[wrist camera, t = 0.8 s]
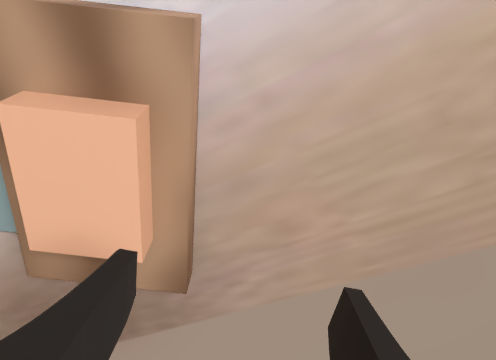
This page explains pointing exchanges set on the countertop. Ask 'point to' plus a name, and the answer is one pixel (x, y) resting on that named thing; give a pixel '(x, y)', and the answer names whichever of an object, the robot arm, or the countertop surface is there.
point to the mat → (5, 208)
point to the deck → (121, 90)
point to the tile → (80, 172)
